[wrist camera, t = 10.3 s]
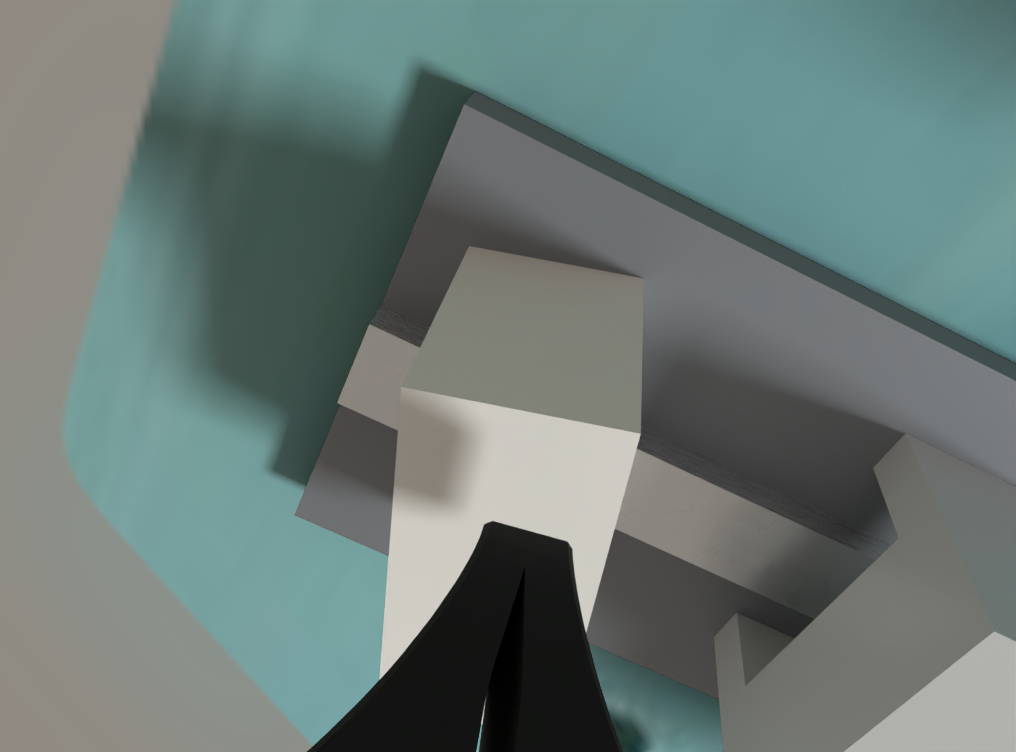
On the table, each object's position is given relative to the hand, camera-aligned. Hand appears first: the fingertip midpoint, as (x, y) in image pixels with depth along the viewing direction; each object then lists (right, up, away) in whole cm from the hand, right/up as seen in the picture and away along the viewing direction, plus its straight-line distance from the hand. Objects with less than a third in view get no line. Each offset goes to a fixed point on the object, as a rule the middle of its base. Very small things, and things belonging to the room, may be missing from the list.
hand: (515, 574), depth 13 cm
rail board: (+4, +1, +9) cm, 10 cm away
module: (0, +2, +8) cm, 8 cm away
